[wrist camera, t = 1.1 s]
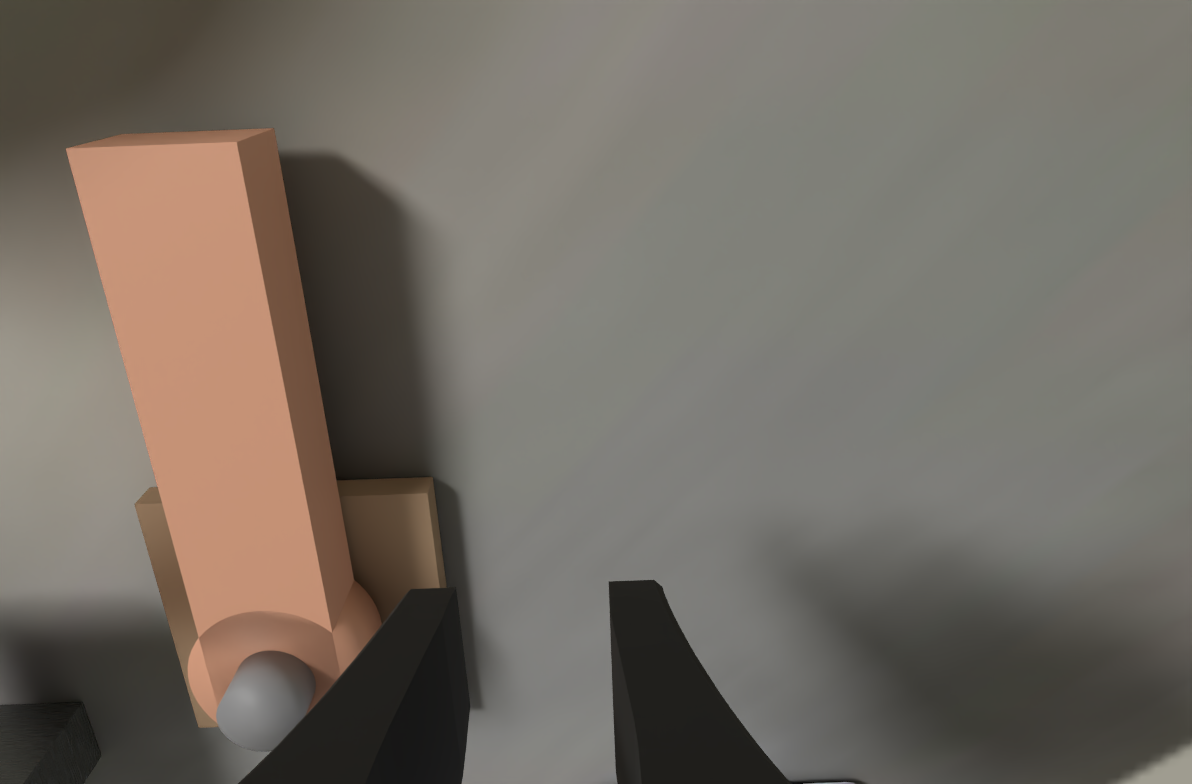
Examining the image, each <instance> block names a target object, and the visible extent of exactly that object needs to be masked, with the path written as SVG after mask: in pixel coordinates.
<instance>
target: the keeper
mask: <svg viewBox="0 0 1192 784" xmlns="http://www.w3.org/2000/svg"><path fill="white" fill-rule="evenodd" d="M100 757H101V754H100V751H99V749H98V746H97V743H96V740H95V737H94V734H93V731H92V729H91V726H90V723H89V720H88V717H87V714H86V712H85V709H84V706H83V703H82V702H81V703H54V704H27V705H0V784H84V782H85V780H86V779H87V777H88V776H89V774H90V773H91V771H92V770H93V768H94V767H95V765H96V764H97V762H98V760H99V759H100Z"/></svg>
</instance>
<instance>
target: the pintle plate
mask: <svg viewBox="0 0 1192 784" xmlns="http://www.w3.org/2000/svg"><path fill="white" fill-rule="evenodd" d="M337 487H338V492H339V498H340V504H341V509H342V515H343V520H344V526H345V532H346V537H347V543H348V549H349V554H350V560H351V566H352V571H353V577H354V580H355V581H356V582H357V583H359V584H360V585H361V586H362V587H363V588H364V589H365V590H366V592H367V593H368V594H369V596H370V597H371V598H372V600H373V602H374V603H375V605H376V607H377V609H378V612H379V614H380V618H381V622H382V624H383V622H384V621H385V620H386V619H387V617H388V616H389V615H390V613H391V612H392V611H393V609H394V608H395V607H396V605H397V604H398V603H399V602H400V600H401V599H402V598H403V596H404V595H405V594H406V593H407V592H408V591H409V590H410V589H425V588H447V586H446V578H445V570H444V562H443V554H442V546H441V538H440V530H439V523H438V515H437V507H436V499H435V491H434V483H433V477H418V478H391V479H364V480H338V481H337ZM135 508H136V511H137V515H138V518H139V522H140V525H141V529H142V532H143V536H144V539H145V543H146V546H147V550H148V553H149V557H150V560H151V564H152V567H153V571H154V574H155V578H156V581H157V585H158V588H159V592H160V595H161V599H162V602H163V606H164V609H165V613H166V616H167V619H168V623H169V626H170V630H171V633H172V637H173V640H174V644H175V647H176V651H177V654H178V658H179V661H180V665H181V668H182V672H183V675H184V679H185V682H186V686H187V689H188V693H189V696H190V700H191V703H192V707H193V710H194V714H195V717H196V721H197V724H198V728H204V727H219V726H218V724H217V723H216V722H215V721H214V720H213V719H211V718H210V717H209V716H208V715H207V713H206V712H205V711H204V710H203V709H202V708H201V706H200V705H199V703H198V702H197V700H196V698H195V697H194V695H193V693H192V690H191V687H190V684H189V679H188V661H189V656H190V653H191V650H192V648H193V646H194V645H195V643H196V641H197V639H198V638H199V637H198V633H197V630H196V626H195V622H194V619H193V615H192V611H191V608H190V604H189V600H188V597H187V593H186V589H185V585H184V582H183V578H182V574H181V571H180V567H179V563H178V560H177V556H176V552H175V549H174V545H173V541H172V538H171V534H170V530H169V527H168V523H167V519H166V516H165V512H164V508H163V505H162V501H161V497H160V494H159V490H158V487H151V488H149V489H148V490H147V491H146V492H145V493H144V494H143V496H142V497H141V498H140V499H139V500H138V501H137V502H136V503H135Z"/></svg>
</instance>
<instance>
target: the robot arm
mask: <svg viewBox="0 0 1192 784" xmlns="http://www.w3.org/2000/svg"><path fill="white" fill-rule="evenodd" d="M609 600H610V628H611V656H612V684H613V710H614V735H615V759H616V775H617V782H618V784H791V783H790V782H789V781H788V780H787V778H786V777H785V776H784V775H783V774H782V773H781V772H780V770H779V769H778V768H777V767H776V766H775V765H774V764H773V762H772V761H771V760H770V759H769V758H768V756H767V755H766V754H765V753H764V751H763V750H762V749H761V748H760V746H759V745H758V744H757V743H756V741H755V740H754V739H753V738H752V736H751V735H750V734H749V732H748V731H747V730H746V728H745V727H744V726H743V724H742V723H741V722H740V720H739V719H738V718H737V716H736V715H735V714H734V712H733V711H732V710H731V708H730V707H729V705H728V704H727V703H726V701H725V700H724V698H723V697H722V695H721V694H720V692H719V691H718V689H717V688H716V686H715V685H714V683H713V682H712V680H711V679H710V677H709V675H708V674H707V672H706V671H705V669H704V668H703V666H702V665H701V663H700V661H699V660H698V658H697V657H696V655H695V653H694V652H693V650H692V648H691V647H690V645H689V643H688V641H687V639H686V638H685V636H684V634H683V632H682V630H681V628H680V627H679V625H678V623H677V621H676V619H675V617H674V615H673V613H672V611H671V608H670V606H669V604H668V601H667V599H666V597H665V594H664V591H663V588H662V586H660V585H659V584H658V583H657V582H656V581H655V580H640V581H613V582H609ZM469 711H470V701H469V693H468V684H467V676H466V668H465V660H464V651H463V643H462V635H461V627H460V618H459V610H458V602H457V594H456V587H452V588H425V589H410V590H409V591H408V592H407V593H406V594H405V595H404V596H403V598H402V599H401V600H400V602H399V603H398V604H397V605H396V607H395V608H394V609H393V611H392V612H391V613H390V615H389V616H388V617H387V619H386V620H385V621H384V622H383V624H382V625H381V626H380V628H379V629H378V630H377V631H376V633H375V634H374V635H373V637H372V638H371V639H370V640H369V642H368V643H367V644H366V645H365V647H364V648H363V649H362V650H361V652H360V653H359V654H358V655H357V657H356V658H355V659H354V660H353V661H352V663H351V664H350V665H349V666H348V667H347V668H346V670H345V671H344V672H343V673H342V674H341V676H340V677H339V678H338V679H337V680H336V682H335V683H334V684H333V685H332V686H331V687H330V689H329V690H328V691H327V692H326V693H325V694H324V696H323V697H322V698H321V699H320V700H319V701H318V702H317V704H316V705H315V706H314V707H313V708H312V709H311V710H310V711H309V712H308V713H307V714H306V715H305V716H304V717H303V719H302V720H301V721H300V722H299V723H298V724H297V725H296V726H295V727H294V728H293V729H292V730H291V731H290V732H289V733H288V735H287V736H286V737H285V738H284V739H283V740H282V741H281V742H280V743H279V744H278V745H277V746H276V747H275V748H274V749H273V750H272V751H271V752H270V753H269V754H268V755H267V756H266V757H265V758H264V759H263V760H262V761H261V762H260V763H259V764H258V765H257V766H256V767H255V768H254V769H253V770H252V771H251V772H250V773H249V774H248V775H247V776H246V777H245V778H244V779H243V780H241V781H240V782H239V783H238V784H461V783H462V778H463V770H464V761H465V752H466V742H467V732H468V721H469ZM805 784H855V783H851V782H832V783H805Z"/></svg>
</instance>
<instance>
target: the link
mask: <svg viewBox="0 0 1192 784" xmlns="http://www.w3.org/2000/svg"><path fill="white" fill-rule="evenodd" d="M66 152H67V155H68V159H69V163H70V166H71V170H72V174H73V177H74V181H75V185H76V188H77V192H78V196H79V199H80V203H81V207H82V211H83V214H84V218H85V222H86V225H87V229H88V233H89V236H90V240H91V244H92V247H93V251H94V255H95V258H96V262H97V266H98V269H99V273H100V277H101V280H102V284H103V288H104V291H105V295H106V299H107V302H108V306H109V310H110V313H111V317H112V321H113V324H114V328H115V332H116V336H117V339H118V343H119V347H120V350H121V354H122V358H123V361H124V365H125V369H126V372H127V376H128V380H129V383H130V387H131V391H132V394H133V398H134V402H135V405H136V409H137V413H138V416H139V420H140V424H141V427H142V431H143V435H144V438H145V442H146V446H147V449H148V453H149V457H150V460H151V464H152V468H153V472H154V475H155V479H156V483H157V486H158V490H159V494H160V497H161V501H162V505H163V508H164V512H165V516H166V519H167V523H168V527H169V530H170V534H171V538H172V541H173V545H174V549H175V552H176V556H177V560H178V563H179V567H180V571H181V574H182V578H183V582H184V585H185V589H186V593H187V597H188V600H189V604H190V608H191V611H192V615H193V619H194V622H195V626H196V630H197V633H198V637H199V638H198V639H197V641H196V643H195V645H194V646H193V648H192V650H191V653H190V656H189V661H188V679H189V684H190V687H191V690H192V693H193V695H194V697H195V698H196V700H197V702H198V703H199V705H200V706H201V708H202V709H203V710H204V711H205V712H206V713H207V715H208V716H209V717H210V718H211V719H213V720H214V721H215V722H216V723H217V724H218V726H219V728H220V730H221V731H222V733H223V734H224V735H225V736H226V737H227V738H228V739H229V740H230V741H232V742H233V743H235V744H237V745H239V746H241V747H243V748H246V749H249V750H253V751H261V752H267V751H272V750H273V749H274V748H275V747H276V746H277V745H278V744H279V743H280V742H281V741H282V740H283V739H284V738H285V737H286V736H287V735H288V733H289V732H290V731H291V730H292V729H293V728H294V727H295V726H296V725H297V724H298V723H299V722H300V721H301V720H302V719H303V717H304V716H305V715H306V714H307V713H308V712H309V711H310V710H311V709H312V708H313V707H314V706H315V705H316V704H317V702H318V701H319V700H320V699H321V698H322V697H323V696H324V694H325V693H326V692H327V691H328V690H329V689H330V687H331V686H332V685H333V684H334V683H335V682H336V680H337V679H338V678H339V677H340V676H341V674H342V673H343V672H344V671H345V670H346V668H347V667H348V666H349V665H350V664H351V663H352V661H353V660H354V659H355V658H356V657H357V655H358V654H359V653H360V652H361V650H362V649H363V648H364V647H365V645H366V644H367V643H368V642H369V640H370V639H371V638H372V637H373V635H374V634H375V633H376V631H377V630H378V629H379V628H380V626H381V625H382V622H381V618H380V614H379V612H378V609H377V607H376V605H375V603H374V602H373V600H372V598H371V597H370V596H369V594H368V593H367V592H366V590H365V589H364V588H363V587H362V586H361V585H360V584H359V583H357V582H356V581H355V580H354V577H353V571H352V566H351V560H350V554H349V549H348V543H347V537H346V532H345V526H344V520H343V515H342V509H341V504H340V498H339V492H338V487H337V481H336V475H335V470H334V464H333V458H332V453H331V447H330V441H329V436H328V430H327V425H326V419H325V413H324V408H323V402H322V396H321V391H320V385H319V379H318V374H317V368H316V362H315V357H314V351H313V346H312V340H311V334H310V329H309V323H308V317H307V312H306V306H305V300H304V295H303V289H302V283H301V278H300V272H299V266H298V261H297V255H296V250H295V244H294V238H293V233H292V227H291V221H290V216H289V210H288V204H287V199H286V193H285V187H284V182H283V176H282V171H281V165H280V159H279V154H278V148H277V142H276V137H275V131H274V128H267V129H241V130H215V131H189V132H163V133H138V134H120V135H116V136H112V137H108V138H104V139H101V140H97V141H93V142H89V143H85V144H81V145H77V146H73V147H70V148H66Z"/></svg>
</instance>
